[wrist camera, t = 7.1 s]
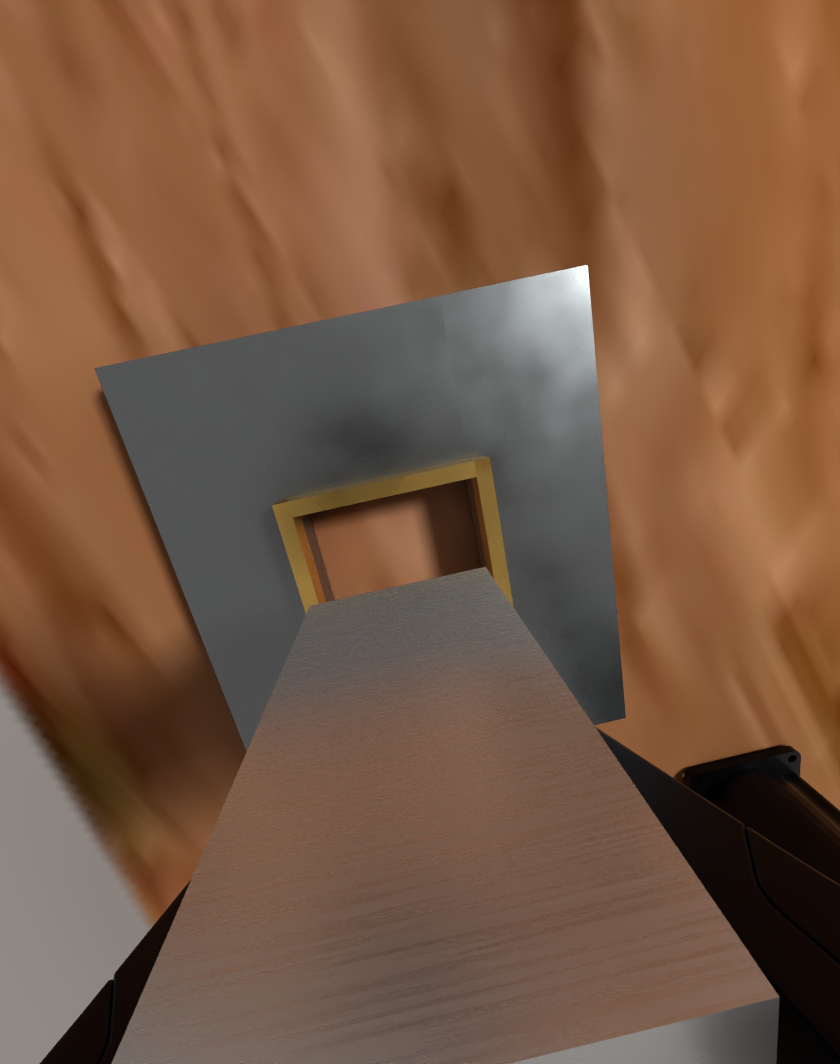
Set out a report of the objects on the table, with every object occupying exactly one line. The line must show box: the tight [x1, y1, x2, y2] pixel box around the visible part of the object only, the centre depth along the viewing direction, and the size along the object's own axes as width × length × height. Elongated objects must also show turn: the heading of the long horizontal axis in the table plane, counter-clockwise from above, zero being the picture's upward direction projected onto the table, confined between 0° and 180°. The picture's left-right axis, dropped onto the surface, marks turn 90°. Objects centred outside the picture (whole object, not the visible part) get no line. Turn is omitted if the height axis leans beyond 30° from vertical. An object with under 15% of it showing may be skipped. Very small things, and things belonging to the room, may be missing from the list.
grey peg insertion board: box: [94, 265, 626, 752], centre depth 17 cm, size 18×20×3 cm
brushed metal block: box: [112, 567, 779, 1064], centre depth 6 cm, size 4×4×10 cm
